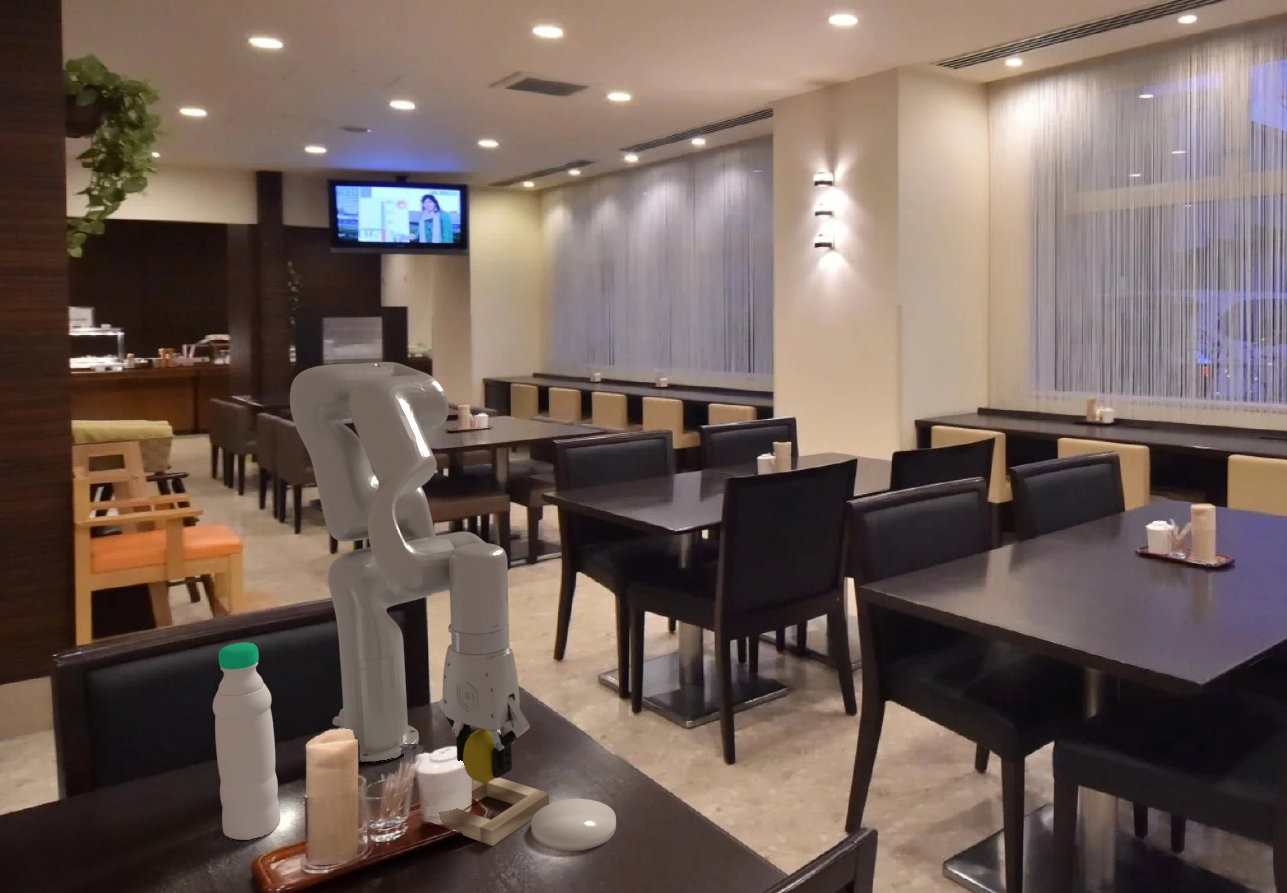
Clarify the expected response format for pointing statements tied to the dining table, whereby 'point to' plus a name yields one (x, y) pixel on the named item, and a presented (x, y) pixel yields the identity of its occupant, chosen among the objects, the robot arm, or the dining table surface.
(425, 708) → the dining table surface
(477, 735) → the lemon
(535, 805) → the frame
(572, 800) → the saucer
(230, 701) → the water bottle
